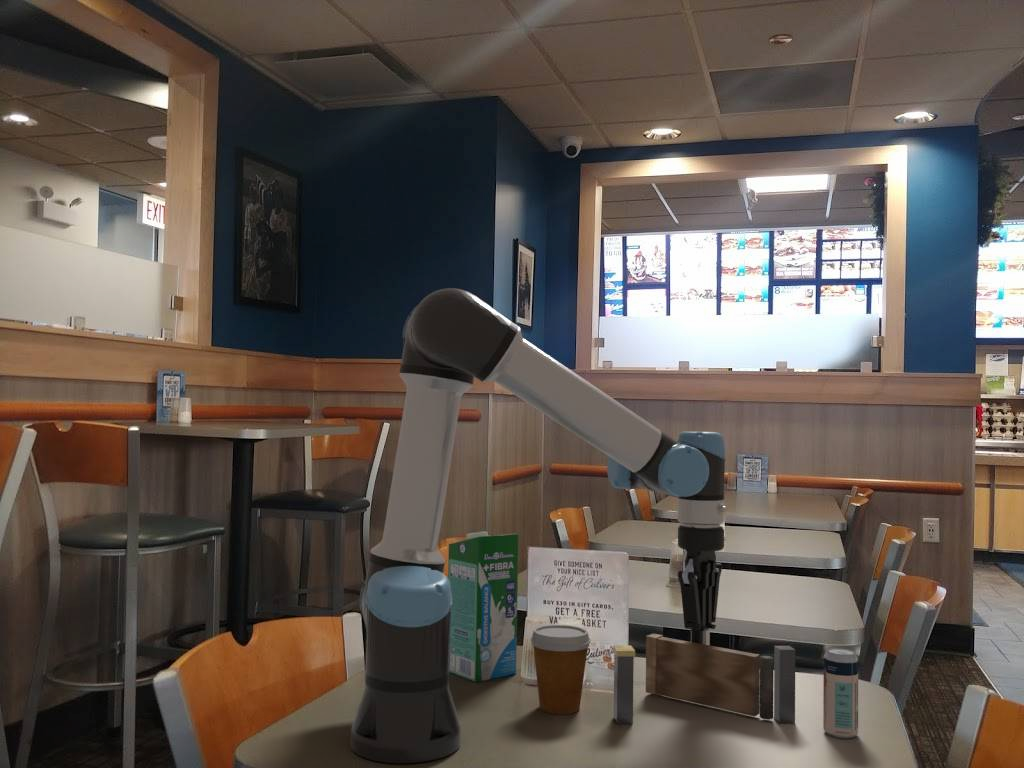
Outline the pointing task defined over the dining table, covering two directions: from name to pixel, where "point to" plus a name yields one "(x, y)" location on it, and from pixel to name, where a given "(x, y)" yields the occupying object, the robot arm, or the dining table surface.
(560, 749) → the dining table surface
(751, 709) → the garden gate
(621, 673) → the post
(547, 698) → the disposable coffee cup
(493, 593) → the milk carton
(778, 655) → the hinge post
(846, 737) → the supplement bottle
